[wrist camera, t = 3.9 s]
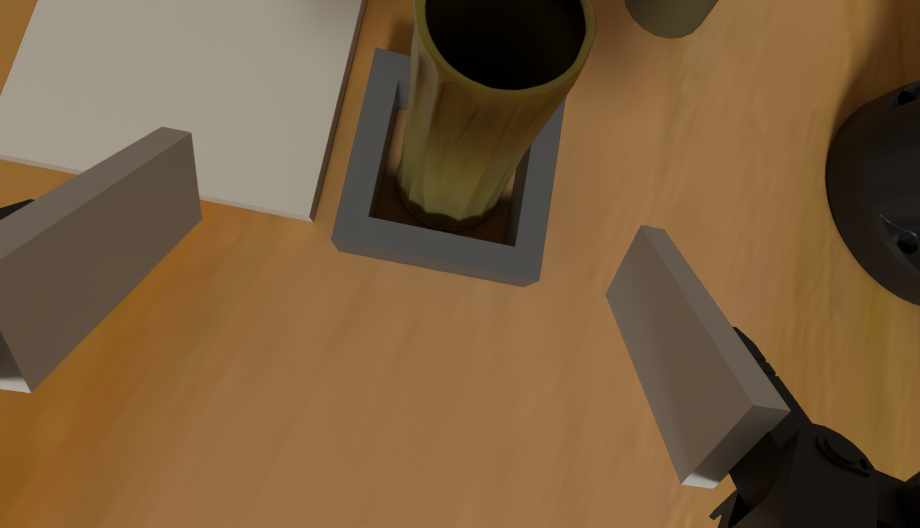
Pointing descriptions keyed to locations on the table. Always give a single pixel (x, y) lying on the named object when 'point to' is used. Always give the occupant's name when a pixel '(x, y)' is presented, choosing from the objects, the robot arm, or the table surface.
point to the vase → (483, 98)
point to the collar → (431, 247)
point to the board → (187, 90)
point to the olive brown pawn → (670, 15)
